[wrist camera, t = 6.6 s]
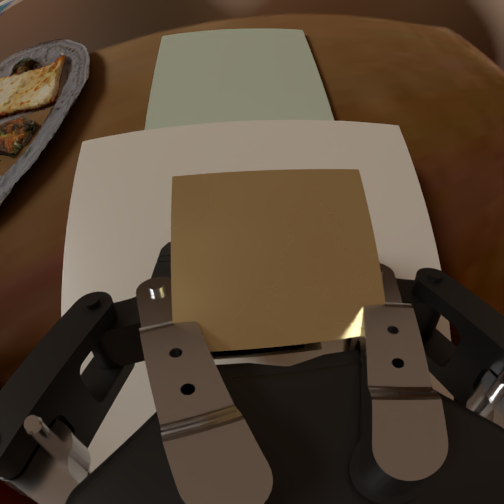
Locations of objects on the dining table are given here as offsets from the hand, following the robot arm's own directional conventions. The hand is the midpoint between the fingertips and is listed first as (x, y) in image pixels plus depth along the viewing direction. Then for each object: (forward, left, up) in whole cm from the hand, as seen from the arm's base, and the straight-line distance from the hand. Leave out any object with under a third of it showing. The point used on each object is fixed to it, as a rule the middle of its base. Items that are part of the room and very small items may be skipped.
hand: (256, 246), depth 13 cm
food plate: (-26, +17, -6) cm, 32 cm away
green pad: (0, +17, -6) cm, 18 cm away
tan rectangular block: (0, -2, -5) cm, 6 cm away
